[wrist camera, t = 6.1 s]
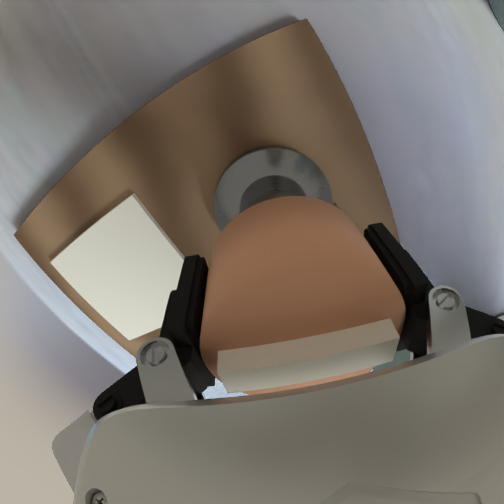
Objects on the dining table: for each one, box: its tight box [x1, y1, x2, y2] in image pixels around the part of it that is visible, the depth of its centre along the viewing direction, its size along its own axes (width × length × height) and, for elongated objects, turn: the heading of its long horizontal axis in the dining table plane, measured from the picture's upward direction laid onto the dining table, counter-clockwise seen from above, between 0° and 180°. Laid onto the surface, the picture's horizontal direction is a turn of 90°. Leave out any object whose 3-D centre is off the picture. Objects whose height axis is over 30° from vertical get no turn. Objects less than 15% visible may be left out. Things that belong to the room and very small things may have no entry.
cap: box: [200, 196, 405, 395], centre depth 10 cm, size 6×6×5 cm
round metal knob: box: [213, 145, 340, 232], centre depth 15 cm, size 7×7×7 cm
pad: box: [50, 193, 185, 340], centre depth 20 cm, size 10×10×1 cm
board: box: [14, 18, 400, 358], centre depth 19 cm, size 26×18×1 cm
